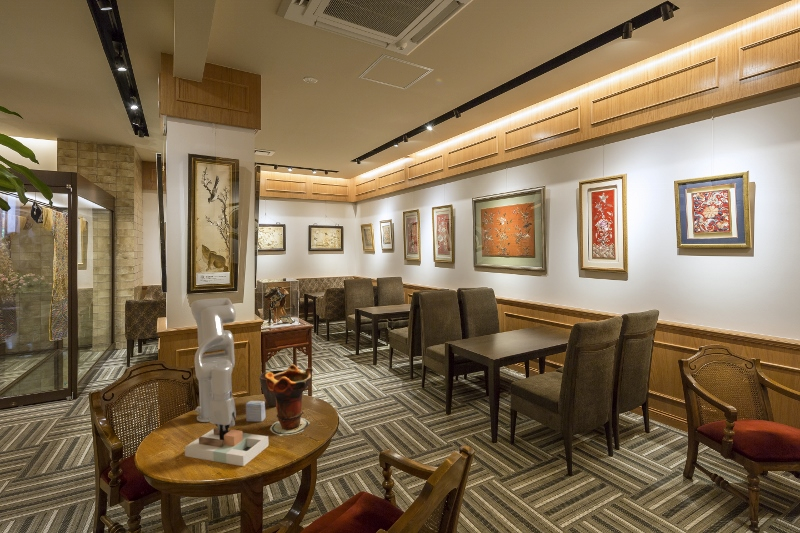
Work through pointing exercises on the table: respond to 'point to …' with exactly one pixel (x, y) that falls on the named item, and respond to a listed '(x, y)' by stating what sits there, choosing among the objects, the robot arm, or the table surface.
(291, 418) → the decorative vase
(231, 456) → the deck
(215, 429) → the channel walls
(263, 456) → the table surface
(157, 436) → the table surface
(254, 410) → the medicine box
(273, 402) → the plant pot
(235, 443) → the block
